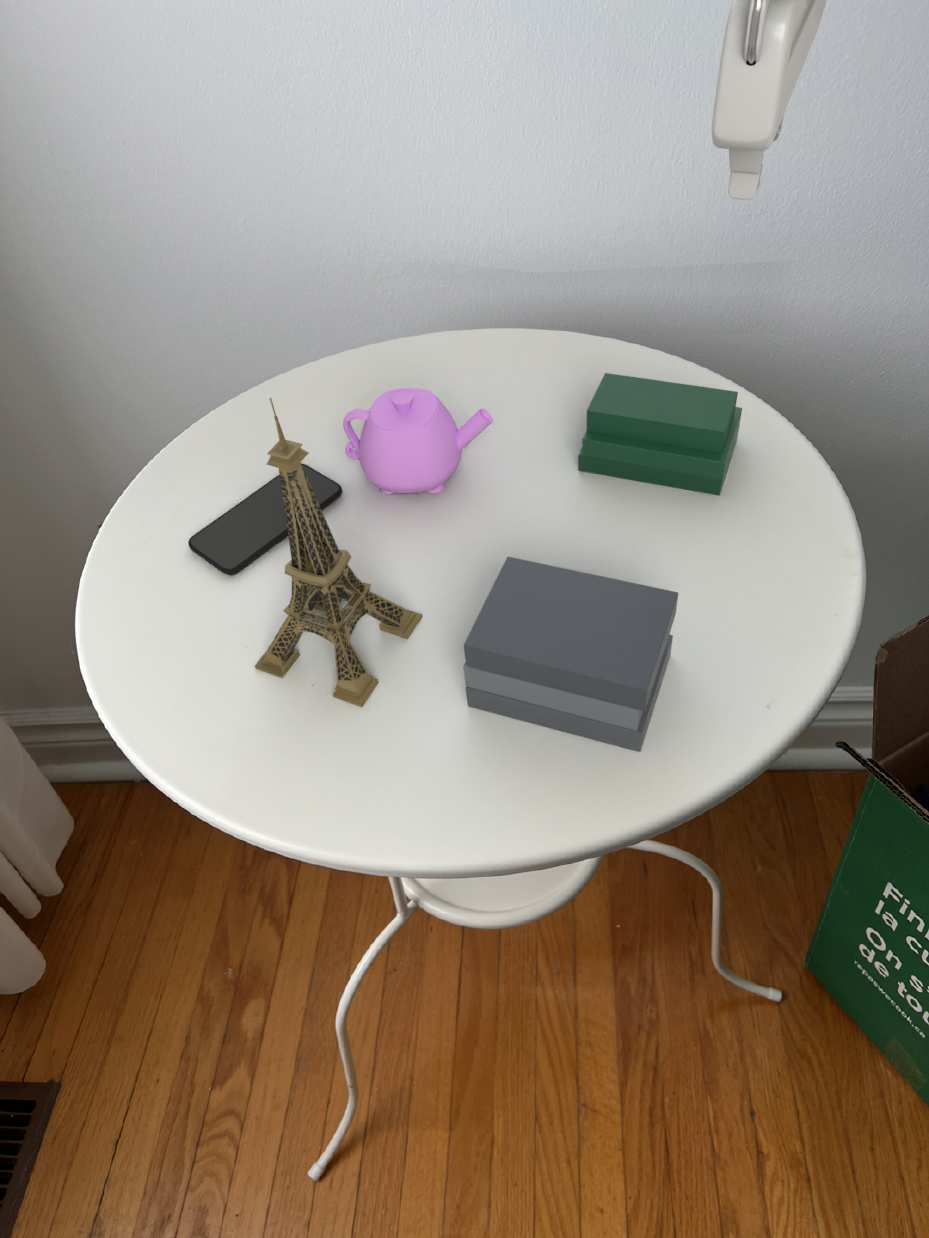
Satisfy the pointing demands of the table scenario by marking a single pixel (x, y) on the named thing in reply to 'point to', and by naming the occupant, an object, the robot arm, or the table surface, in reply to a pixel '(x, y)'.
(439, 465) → the teapot
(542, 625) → the grey stack
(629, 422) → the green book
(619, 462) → the green stack
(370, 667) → the table surface
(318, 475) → the smartphone
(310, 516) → the eiffel tower
